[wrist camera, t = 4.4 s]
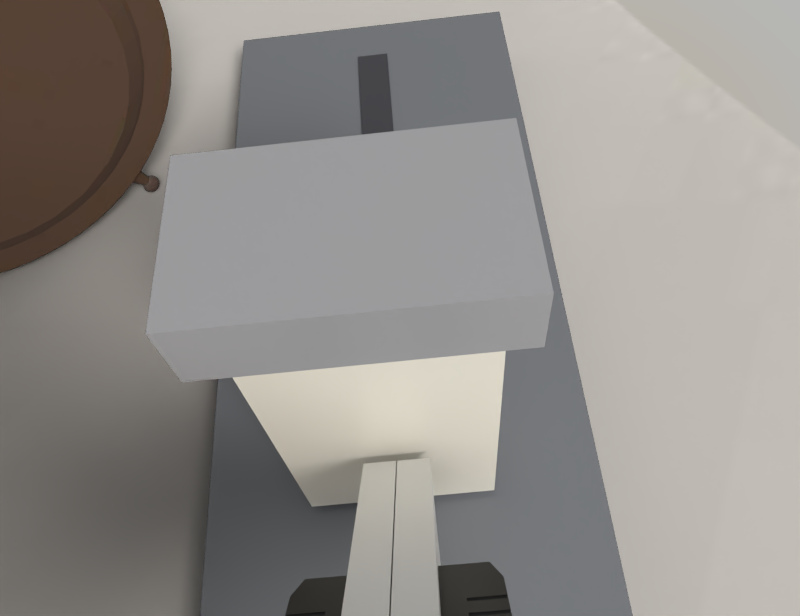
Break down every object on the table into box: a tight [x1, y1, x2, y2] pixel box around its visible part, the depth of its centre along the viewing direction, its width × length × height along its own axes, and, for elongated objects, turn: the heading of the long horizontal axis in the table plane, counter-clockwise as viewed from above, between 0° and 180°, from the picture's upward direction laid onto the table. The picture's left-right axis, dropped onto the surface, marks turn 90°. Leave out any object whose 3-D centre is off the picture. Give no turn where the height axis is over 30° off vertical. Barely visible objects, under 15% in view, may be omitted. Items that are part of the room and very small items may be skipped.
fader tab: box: [145, 118, 554, 507], centre depth 16 cm, size 6×4×11 cm, turn 94°
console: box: [200, 12, 633, 616], centre depth 25 cm, size 11×26×2 cm, turn 4°
